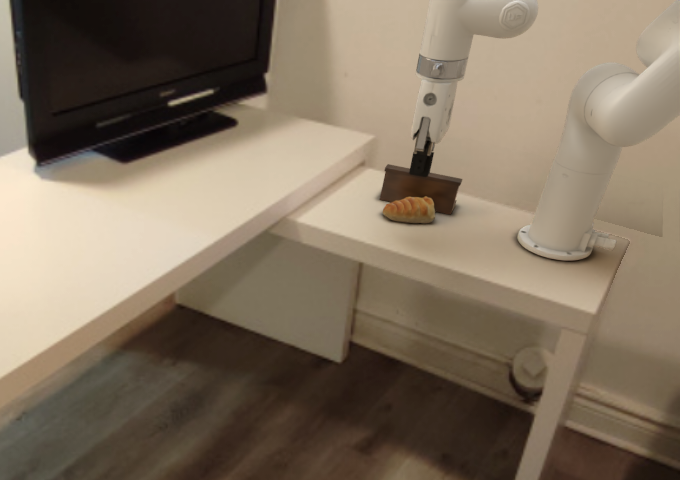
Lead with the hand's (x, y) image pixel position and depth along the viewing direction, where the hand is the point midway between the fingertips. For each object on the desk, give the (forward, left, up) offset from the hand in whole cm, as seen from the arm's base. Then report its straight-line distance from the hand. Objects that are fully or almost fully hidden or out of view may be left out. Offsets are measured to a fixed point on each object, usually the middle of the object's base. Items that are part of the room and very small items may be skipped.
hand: (419, 174), depth 139 cm
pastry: (+1, -9, -13) cm, 15 cm away
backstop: (+1, -16, -12) cm, 20 cm away
